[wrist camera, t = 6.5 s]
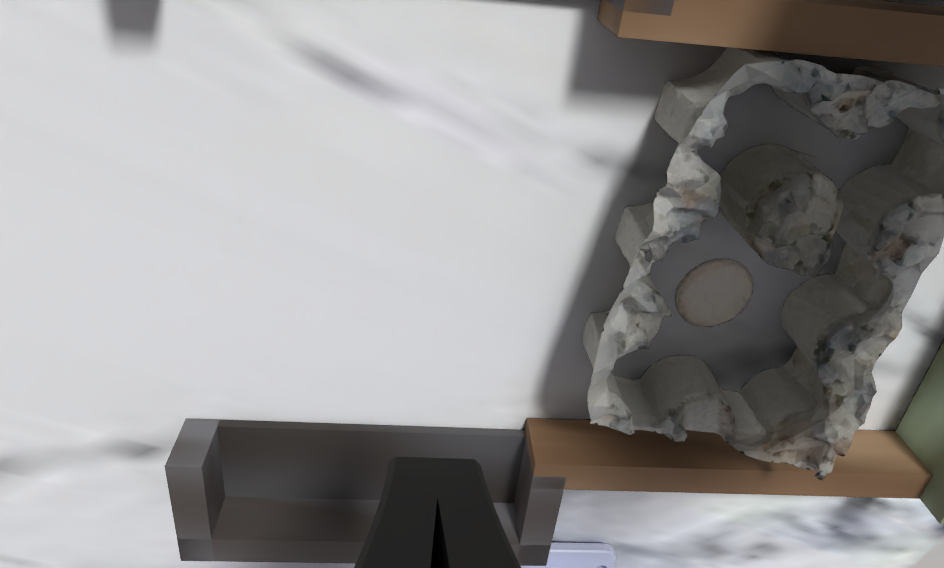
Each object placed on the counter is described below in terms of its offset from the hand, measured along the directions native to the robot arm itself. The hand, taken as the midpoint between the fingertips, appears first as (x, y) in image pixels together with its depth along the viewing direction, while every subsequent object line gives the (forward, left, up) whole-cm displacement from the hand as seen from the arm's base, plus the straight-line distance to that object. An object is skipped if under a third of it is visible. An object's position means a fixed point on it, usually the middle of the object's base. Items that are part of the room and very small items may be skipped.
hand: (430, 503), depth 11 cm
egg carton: (+1, -8, -10) cm, 13 cm away
